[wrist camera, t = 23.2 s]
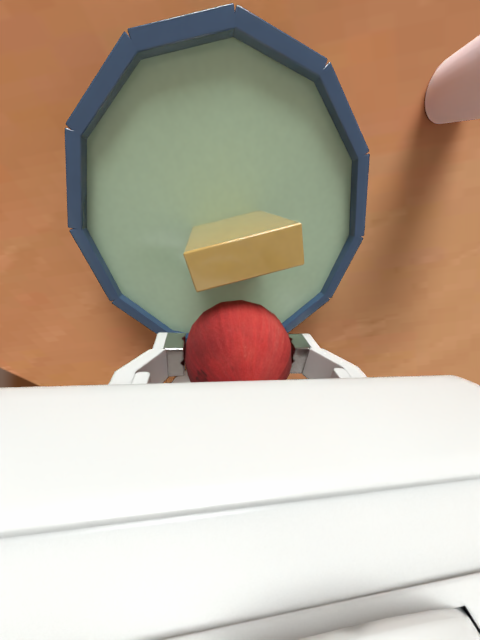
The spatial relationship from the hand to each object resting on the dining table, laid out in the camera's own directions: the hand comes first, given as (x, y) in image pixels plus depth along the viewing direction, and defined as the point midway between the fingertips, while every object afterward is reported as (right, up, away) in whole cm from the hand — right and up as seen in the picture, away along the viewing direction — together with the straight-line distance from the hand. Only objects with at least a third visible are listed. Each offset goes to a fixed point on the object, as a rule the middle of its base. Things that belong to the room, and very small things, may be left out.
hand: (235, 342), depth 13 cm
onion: (0, +1, +3) cm, 3 cm away
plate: (-1, +8, +4) cm, 9 cm away
